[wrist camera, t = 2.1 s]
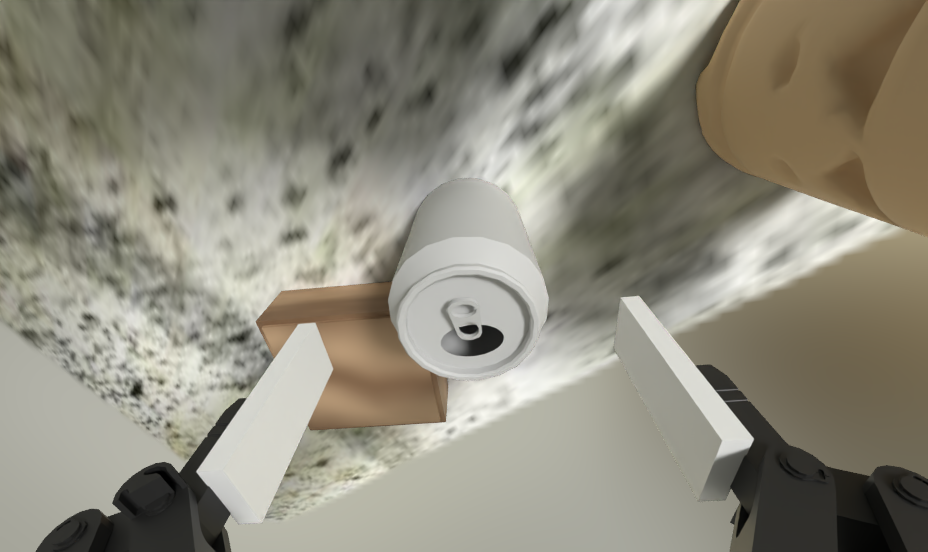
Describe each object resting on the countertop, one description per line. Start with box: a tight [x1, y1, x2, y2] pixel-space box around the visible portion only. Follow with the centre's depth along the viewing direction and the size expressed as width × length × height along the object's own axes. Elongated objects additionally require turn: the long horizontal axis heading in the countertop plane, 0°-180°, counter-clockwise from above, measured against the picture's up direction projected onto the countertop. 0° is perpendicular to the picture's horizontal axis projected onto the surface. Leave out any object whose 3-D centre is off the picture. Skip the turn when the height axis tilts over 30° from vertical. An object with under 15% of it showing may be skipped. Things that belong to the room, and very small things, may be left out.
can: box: [388, 178, 549, 380], centre depth 20 cm, size 8×8×12 cm
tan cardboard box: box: [256, 282, 448, 430], centre depth 29 cm, size 12×12×4 cm
